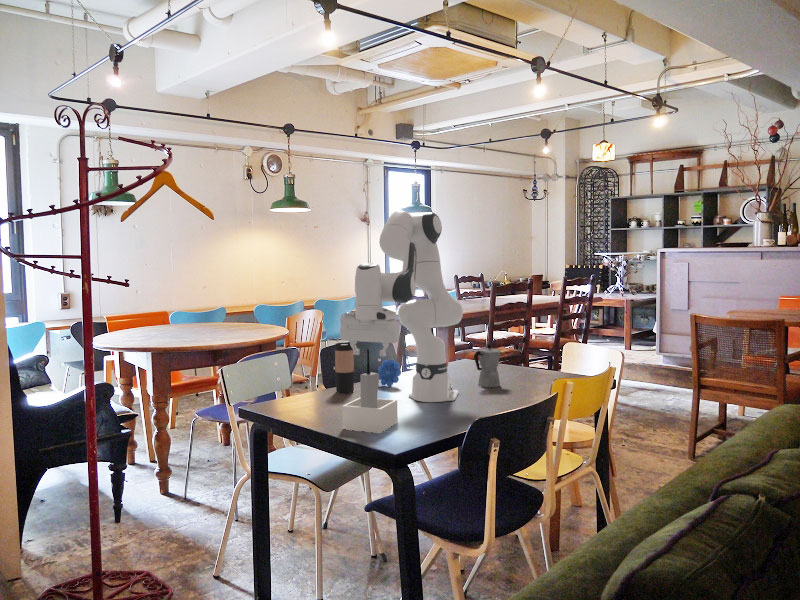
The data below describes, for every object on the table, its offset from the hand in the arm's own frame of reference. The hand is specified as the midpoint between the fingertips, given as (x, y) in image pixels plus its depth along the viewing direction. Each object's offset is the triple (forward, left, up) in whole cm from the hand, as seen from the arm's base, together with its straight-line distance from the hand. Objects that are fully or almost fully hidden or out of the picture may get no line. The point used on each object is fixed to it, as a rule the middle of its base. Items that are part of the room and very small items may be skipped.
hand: (369, 355), depth 213 cm
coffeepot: (-76, +19, -24) cm, 82 cm away
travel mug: (-45, -33, -24) cm, 61 cm away
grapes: (-62, -20, -24) cm, 69 cm away
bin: (0, 0, -24) cm, 24 cm away
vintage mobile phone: (0, 0, -23) cm, 23 cm away
